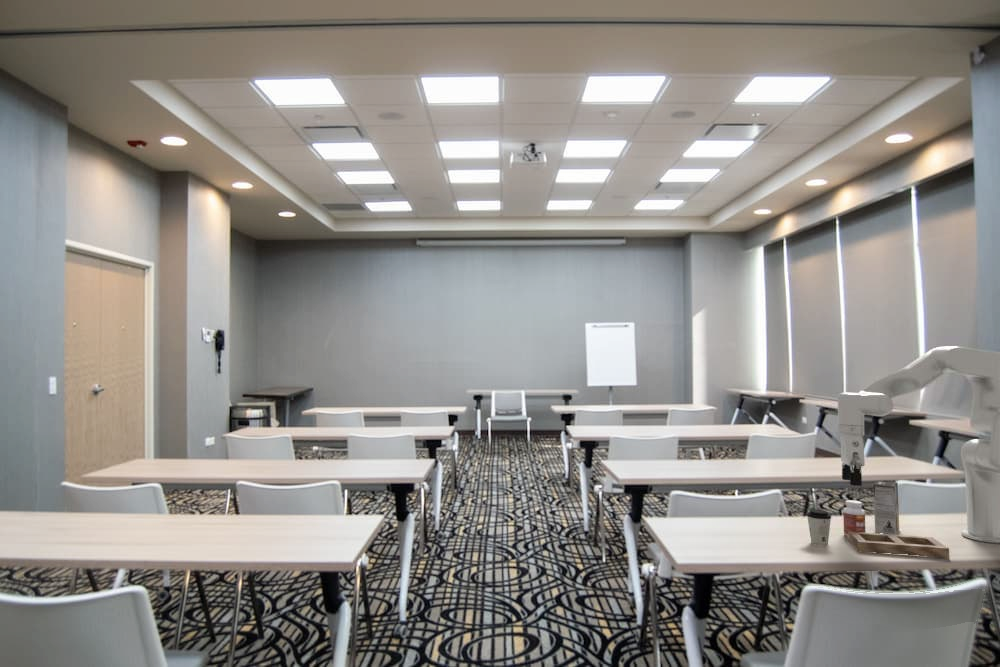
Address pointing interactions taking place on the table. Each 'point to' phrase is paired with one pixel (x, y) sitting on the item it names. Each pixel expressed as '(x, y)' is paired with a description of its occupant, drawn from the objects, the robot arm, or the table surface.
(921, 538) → the holder frame
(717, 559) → the table surface
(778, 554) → the table surface
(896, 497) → the coffee box
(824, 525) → the coffee cup
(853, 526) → the pill bottle
